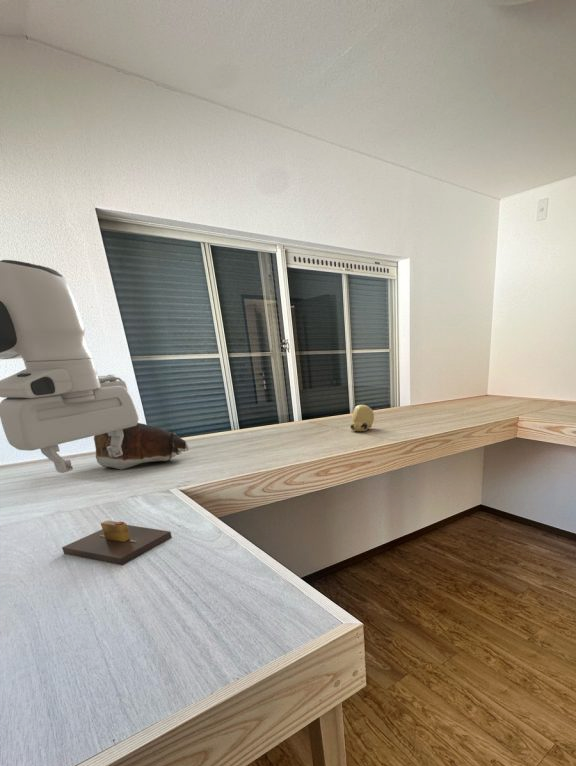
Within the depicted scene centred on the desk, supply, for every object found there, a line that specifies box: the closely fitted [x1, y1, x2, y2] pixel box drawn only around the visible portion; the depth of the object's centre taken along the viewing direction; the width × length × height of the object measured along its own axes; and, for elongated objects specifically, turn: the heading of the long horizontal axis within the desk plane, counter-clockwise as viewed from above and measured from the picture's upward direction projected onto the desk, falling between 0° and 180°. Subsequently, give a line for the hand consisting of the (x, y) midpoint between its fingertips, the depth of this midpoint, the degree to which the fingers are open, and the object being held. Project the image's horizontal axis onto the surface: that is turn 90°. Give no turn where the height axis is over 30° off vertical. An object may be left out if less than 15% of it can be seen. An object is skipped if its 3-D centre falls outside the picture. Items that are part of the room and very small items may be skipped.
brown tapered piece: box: [93, 422, 190, 470], centre depth 133 cm, size 15×15×25 cm
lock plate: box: [61, 524, 173, 566], centre depth 77 cm, size 14×11×3 cm
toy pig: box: [350, 404, 375, 433], centre depth 176 cm, size 10×12×11 cm
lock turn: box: [100, 519, 130, 542], centre depth 76 cm, size 5×1×3 cm, turn 71°
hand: (92, 463), depth 71 cm, fingers open, 8 cm apart
